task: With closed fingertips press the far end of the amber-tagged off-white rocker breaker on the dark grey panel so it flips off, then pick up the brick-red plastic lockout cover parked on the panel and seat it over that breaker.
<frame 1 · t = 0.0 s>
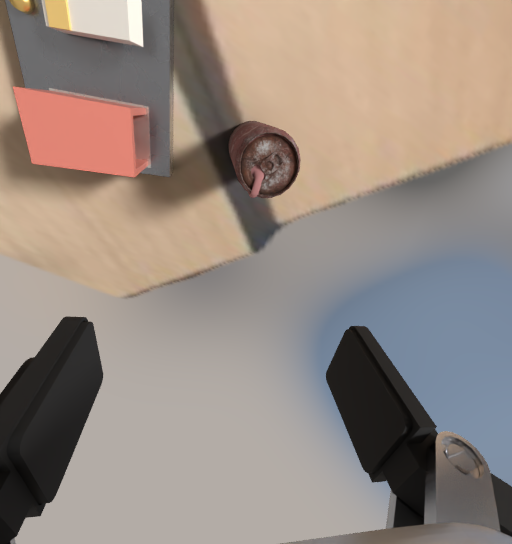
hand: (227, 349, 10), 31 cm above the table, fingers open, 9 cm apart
can: (250, 148, 35), on the table
breaker 2: (92, 12, 23), point 6 cm above the table, hinge at 20.0°
panel: (104, 38, 28), on the table
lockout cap: (104, 131, 29), point 3 cm above the table, touching panel
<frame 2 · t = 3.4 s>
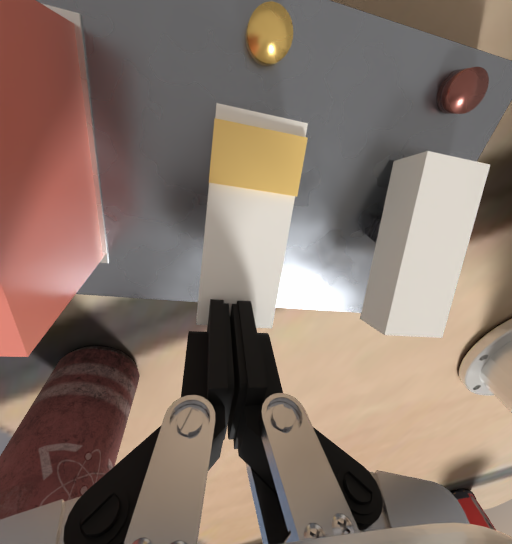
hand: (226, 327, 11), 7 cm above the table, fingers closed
can: (100, 366, 22), on the table
breaker 2: (244, 228, 11), point 6 cm above the table, hinge at 15.6°, touching gripper
panel: (221, 171, 15), on the table
speaker: (450, 495, 53), on the table
breaker 1: (418, 250, 13), point 5 cm above the table, hinge at 20.0°
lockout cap: (8, 151, 10), point 3 cm above the table, touching panel
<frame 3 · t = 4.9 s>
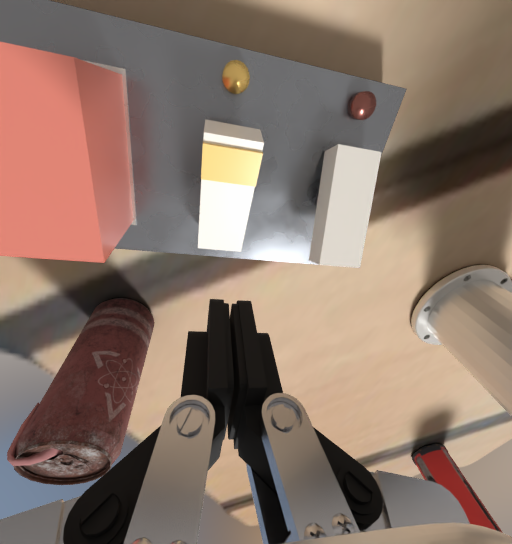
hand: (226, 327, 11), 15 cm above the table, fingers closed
can: (124, 316, 28), on the table
breaker 2: (225, 195, 17), point 6 cm above the table, hinge at -14.9°
panel: (211, 162, 21), on the table
speaker: (426, 450, 60), on the table
breaker 1: (342, 210, 19), point 5 cm above the table, hinge at 20.0°
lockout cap: (78, 150, 17), point 3 cm above the table, touching panel
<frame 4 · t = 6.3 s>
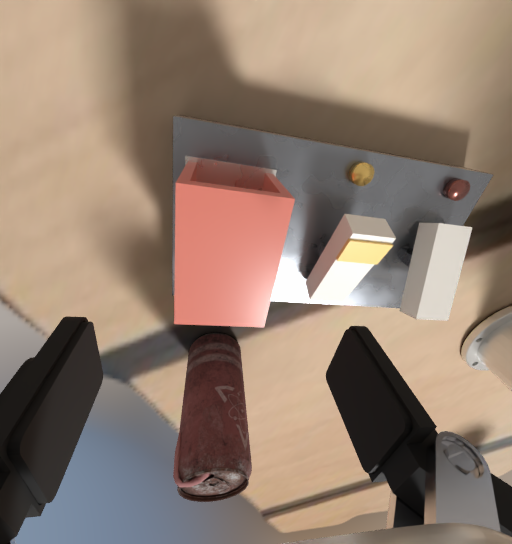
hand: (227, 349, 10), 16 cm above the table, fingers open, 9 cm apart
can: (214, 347, 32), on the table
breaker 2: (343, 264, 21), point 6 cm above the table, hinge at -19.8°
panel: (313, 224, 25), on the table
breaker 1: (433, 271, 23), point 6 cm above the table, hinge at 20.0°
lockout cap: (225, 227, 21), point 3 cm above the table, touching panel
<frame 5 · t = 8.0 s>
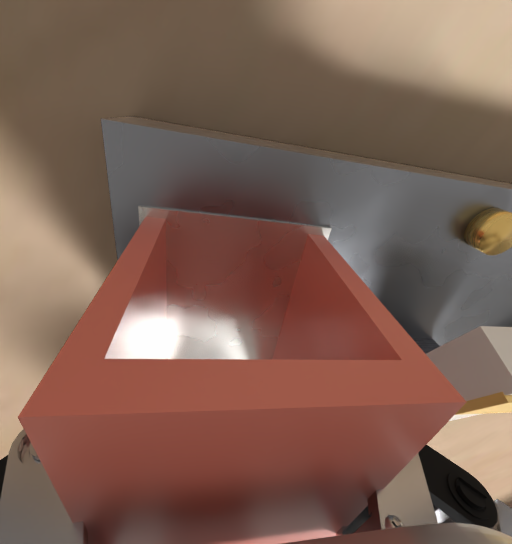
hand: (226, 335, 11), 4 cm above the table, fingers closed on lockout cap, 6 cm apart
breaker 2: (444, 391, 11), point 6 cm above the table, hinge at -21.1°
panel: (369, 293, 15), on the table
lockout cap: (226, 326, 11), point 3 cm above the table, touching gripper, panel
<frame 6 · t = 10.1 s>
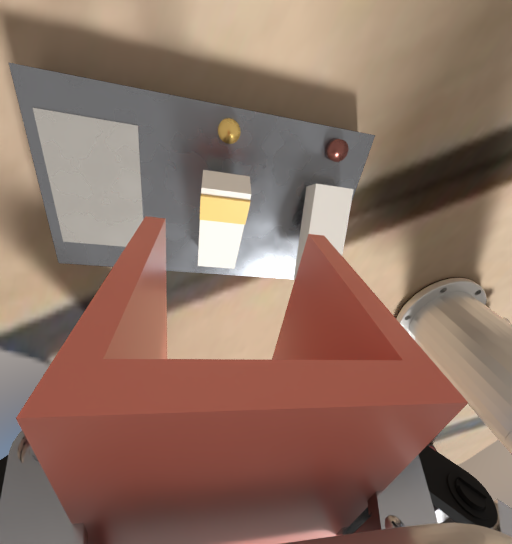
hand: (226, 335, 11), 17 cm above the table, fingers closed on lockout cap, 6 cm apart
breaker 2: (220, 226, 20), point 6 cm above the table, hinge at -21.4°
panel: (209, 192, 24), on the table
breaker 1: (321, 236, 22), point 5 cm above the table, hinge at 20.0°
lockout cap: (226, 326, 11), point 17 cm above the table, touching gripper
when the fingers open (5 cm above the table, at t = 12.7 s): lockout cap drops 2 cm, resting on panel.
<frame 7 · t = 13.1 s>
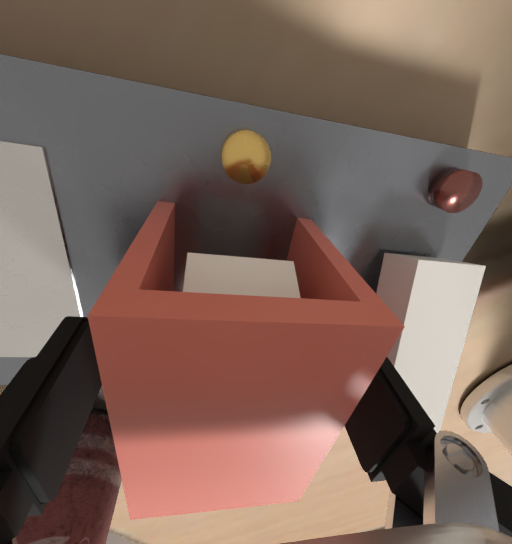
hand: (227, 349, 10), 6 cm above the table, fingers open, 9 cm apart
can: (92, 426, 21), on the table
breaker 2: (227, 343, 10), point 6 cm above the table, hinge at -21.4°
panel: (206, 252, 14), on the table
breaker 1: (411, 344, 12), point 6 cm above the table, hinge at 20.0°
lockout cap: (226, 302, 12), point 3 cm above the table, touching panel
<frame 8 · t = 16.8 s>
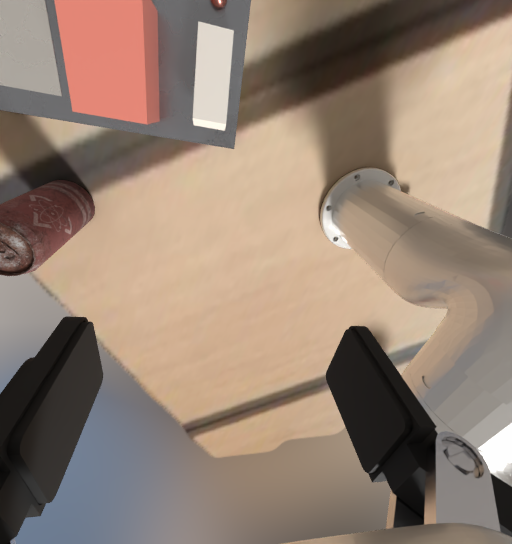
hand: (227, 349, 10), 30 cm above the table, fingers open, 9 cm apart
can: (70, 201, 35), on the table
panel: (123, 54, 28), on the table
breaker 1: (212, 80, 25), point 5 cm above the table, hinge at 20.0°
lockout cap: (126, 64, 26), point 3 cm above the table, touching panel
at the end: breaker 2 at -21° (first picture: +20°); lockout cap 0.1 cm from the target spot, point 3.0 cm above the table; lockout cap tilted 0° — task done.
